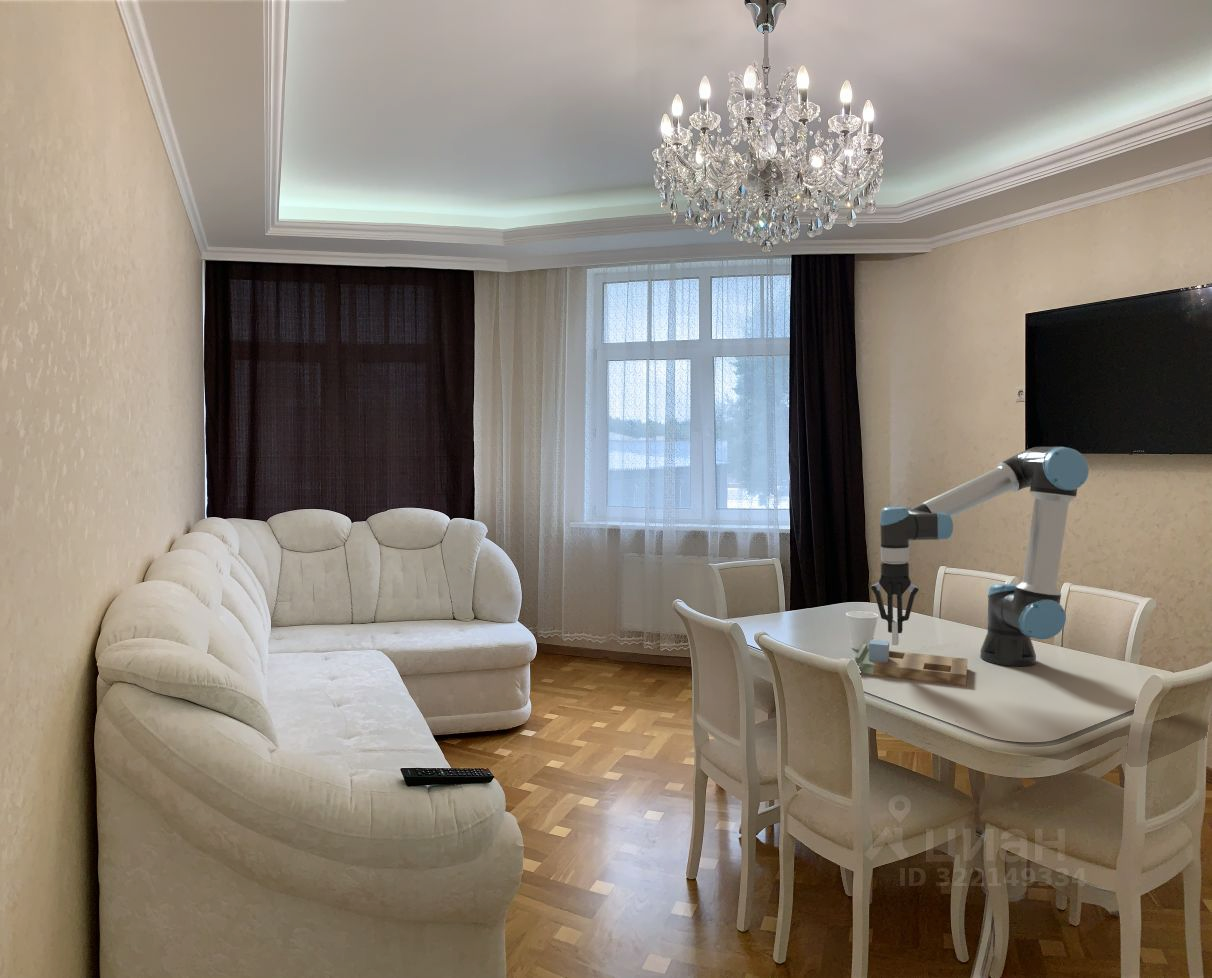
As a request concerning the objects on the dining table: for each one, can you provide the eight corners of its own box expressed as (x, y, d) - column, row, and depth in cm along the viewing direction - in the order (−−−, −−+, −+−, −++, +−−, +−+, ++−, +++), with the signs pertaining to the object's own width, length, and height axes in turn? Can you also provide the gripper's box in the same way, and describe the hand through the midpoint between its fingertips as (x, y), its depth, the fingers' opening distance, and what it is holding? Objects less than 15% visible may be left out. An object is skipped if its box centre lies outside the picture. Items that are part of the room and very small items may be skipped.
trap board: (967, 669, 240) (967, 653, 239) (965, 685, 223) (966, 669, 223) (863, 657, 252) (863, 643, 251) (854, 672, 235) (855, 657, 235)
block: (888, 658, 240) (889, 641, 239) (887, 662, 235) (887, 645, 235) (870, 656, 242) (871, 639, 241) (868, 660, 237) (869, 643, 237)
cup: (879, 653, 257) (880, 618, 256) (846, 651, 259) (847, 617, 258) (875, 645, 266) (876, 612, 266) (843, 644, 268) (844, 610, 268)
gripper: (920, 560, 234) (920, 642, 236) (872, 559, 240) (873, 639, 241) (918, 564, 227) (918, 649, 229) (868, 562, 233) (869, 645, 234)
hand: (895, 643), depth 235 cm, fingers closed
